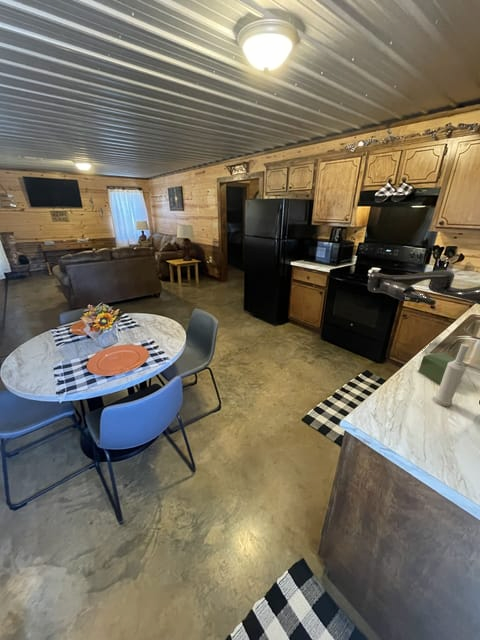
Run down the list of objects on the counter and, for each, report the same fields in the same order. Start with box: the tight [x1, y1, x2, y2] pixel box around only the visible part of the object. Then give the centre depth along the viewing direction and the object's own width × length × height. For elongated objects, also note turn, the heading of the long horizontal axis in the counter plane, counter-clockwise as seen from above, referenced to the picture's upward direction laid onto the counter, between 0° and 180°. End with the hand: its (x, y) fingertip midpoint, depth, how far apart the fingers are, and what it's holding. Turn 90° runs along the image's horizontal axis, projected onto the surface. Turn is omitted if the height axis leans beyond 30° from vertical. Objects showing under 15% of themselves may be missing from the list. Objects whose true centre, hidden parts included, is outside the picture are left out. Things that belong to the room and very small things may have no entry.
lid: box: [422, 351, 469, 370], centre depth 112 cm, size 11×11×1 cm
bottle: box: [434, 343, 470, 407], centre depth 95 cm, size 5×5×25 cm
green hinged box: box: [418, 356, 445, 386], centre depth 114 cm, size 10×11×8 cm
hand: (434, 303), depth 113 cm, fingers closed
